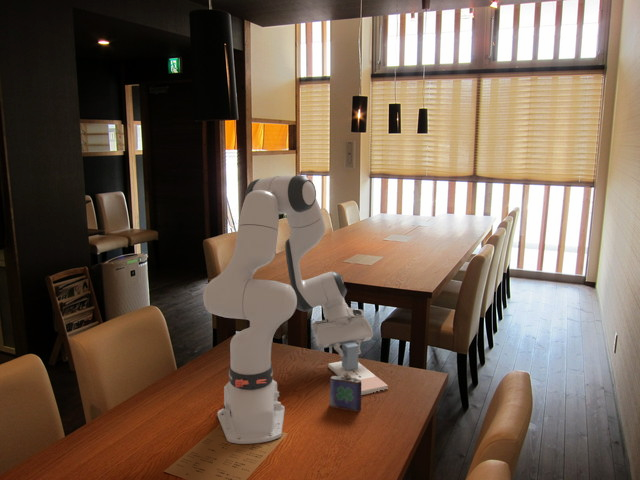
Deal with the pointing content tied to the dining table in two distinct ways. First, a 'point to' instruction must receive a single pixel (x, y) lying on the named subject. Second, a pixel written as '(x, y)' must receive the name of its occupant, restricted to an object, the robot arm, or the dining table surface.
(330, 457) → the dining table surface
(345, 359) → the grey rectangular block
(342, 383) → the flask
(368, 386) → the board
